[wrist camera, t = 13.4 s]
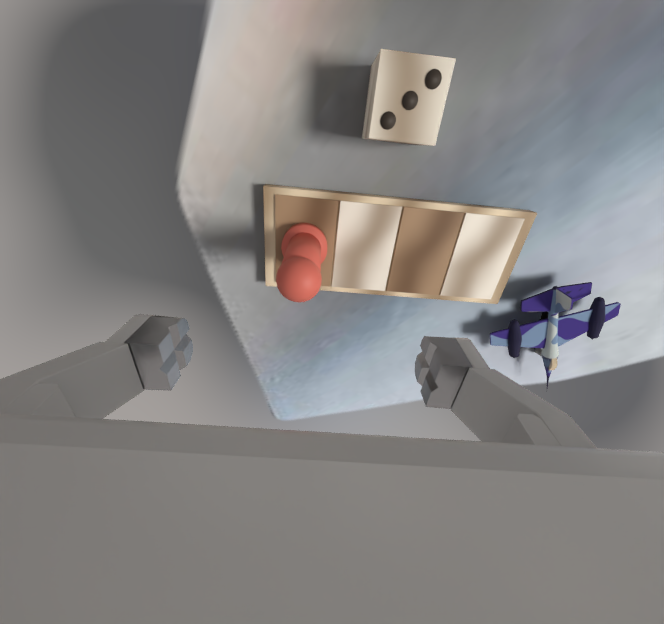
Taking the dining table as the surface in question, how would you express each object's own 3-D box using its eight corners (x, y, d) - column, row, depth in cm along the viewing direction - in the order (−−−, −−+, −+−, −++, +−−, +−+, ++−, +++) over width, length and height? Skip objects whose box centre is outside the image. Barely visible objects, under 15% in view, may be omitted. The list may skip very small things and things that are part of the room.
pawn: (329, 224, 28) (331, 263, 19) (325, 267, 30) (325, 318, 22) (283, 220, 28) (265, 257, 19) (282, 263, 30) (266, 314, 21)
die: (432, 73, 23) (456, 58, 19) (417, 144, 26) (435, 145, 22) (371, 65, 23) (381, 48, 19) (361, 138, 26) (368, 138, 21)
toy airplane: (534, 379, 41) (551, 398, 38) (460, 338, 37) (472, 356, 34) (622, 308, 35) (650, 324, 32) (545, 252, 31) (568, 264, 28)
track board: (529, 210, 29) (538, 213, 28) (492, 298, 34) (498, 304, 33) (265, 184, 27) (262, 186, 26) (267, 281, 32) (265, 286, 31)
